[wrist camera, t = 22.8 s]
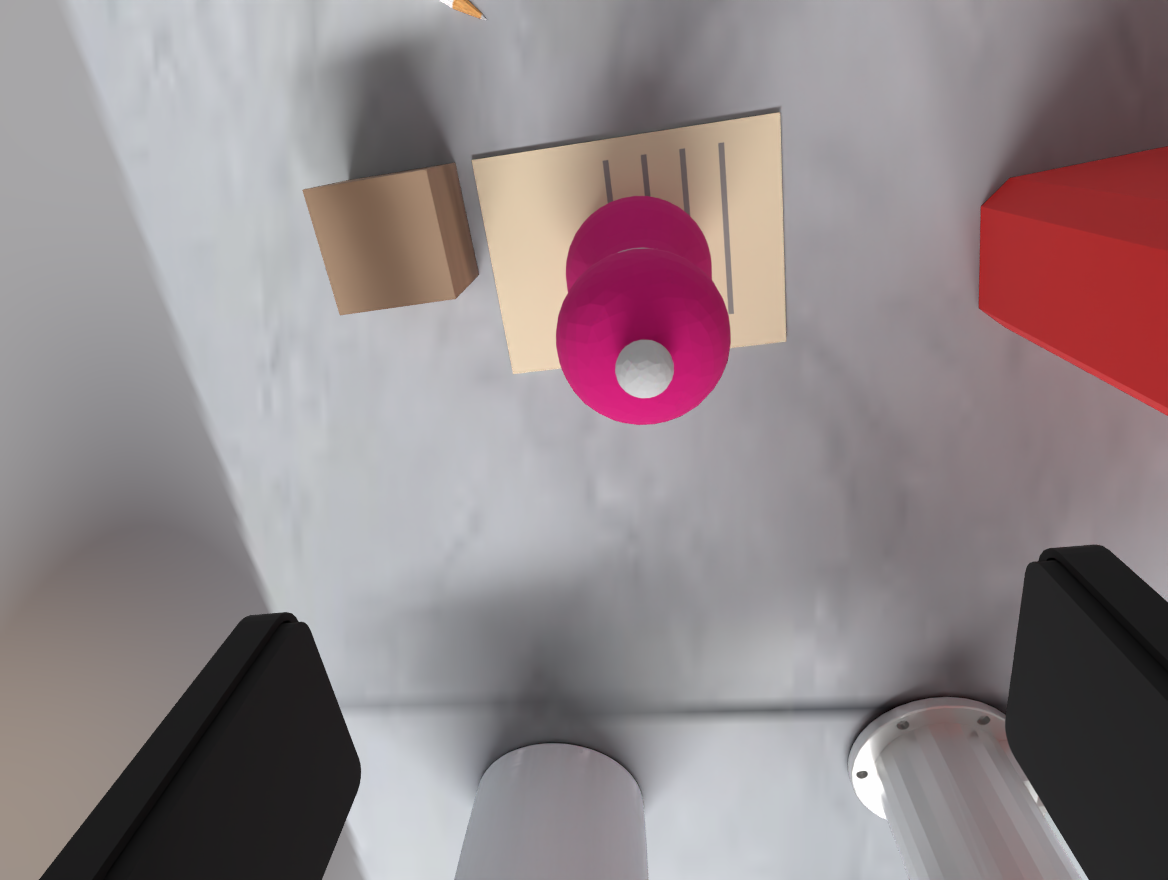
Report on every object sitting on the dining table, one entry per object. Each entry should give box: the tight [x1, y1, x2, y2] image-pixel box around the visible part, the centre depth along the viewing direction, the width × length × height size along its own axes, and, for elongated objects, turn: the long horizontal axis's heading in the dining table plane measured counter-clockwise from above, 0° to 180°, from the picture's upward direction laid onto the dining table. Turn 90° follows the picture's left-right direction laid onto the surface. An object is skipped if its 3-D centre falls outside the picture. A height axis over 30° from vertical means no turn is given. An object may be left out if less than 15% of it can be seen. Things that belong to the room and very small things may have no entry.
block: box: [303, 163, 479, 315], centre depth 36 cm, size 6×6×6 cm
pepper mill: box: [556, 196, 731, 425], centre depth 29 cm, size 7×7×20 cm
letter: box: [472, 112, 786, 374], centre depth 39 cm, size 16×12×1 cm
